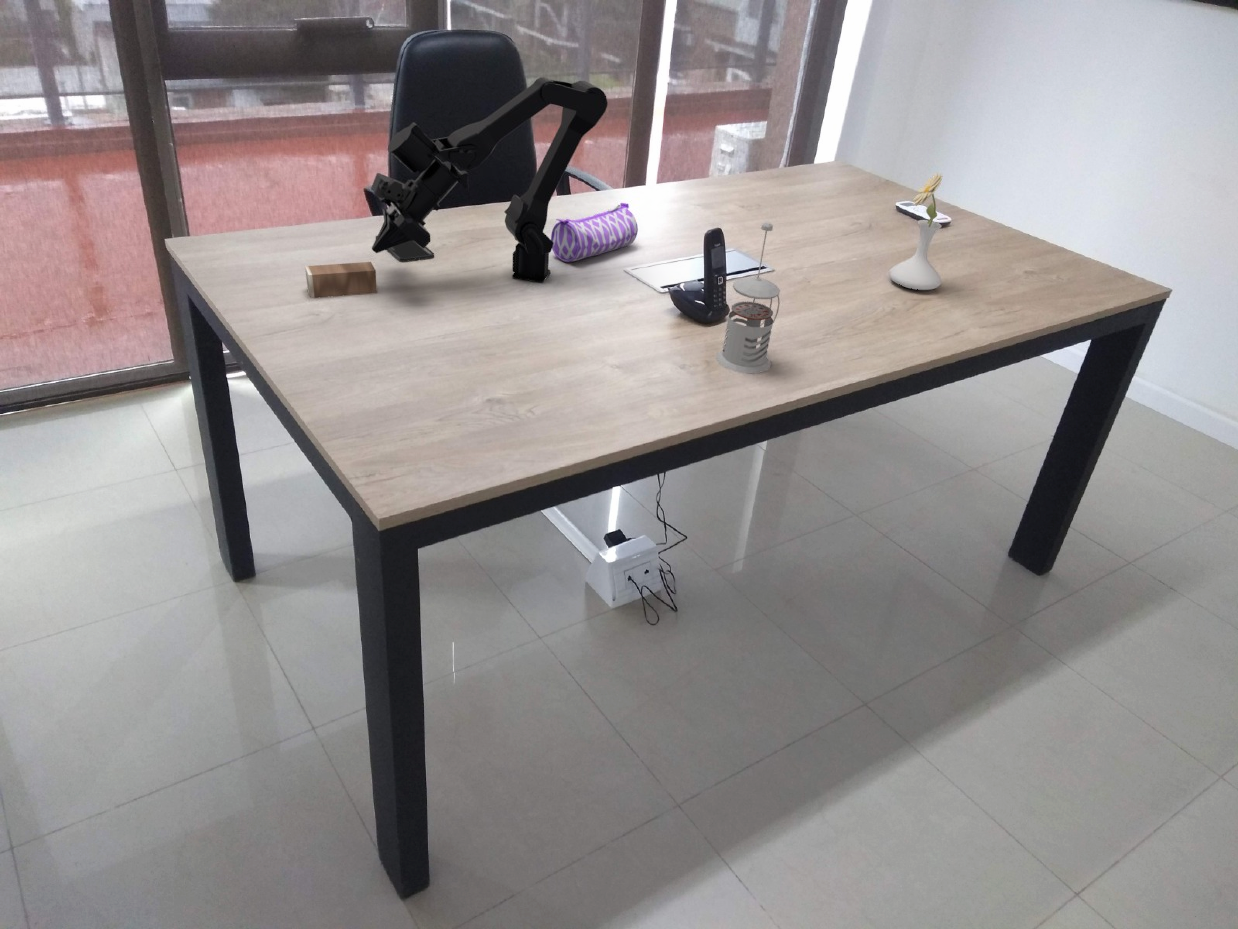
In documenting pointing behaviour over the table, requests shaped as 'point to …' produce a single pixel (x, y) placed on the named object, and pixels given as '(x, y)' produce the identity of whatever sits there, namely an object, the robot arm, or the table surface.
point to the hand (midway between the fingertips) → (373, 250)
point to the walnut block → (341, 279)
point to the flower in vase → (921, 247)
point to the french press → (750, 324)
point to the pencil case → (594, 234)
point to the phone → (410, 252)
